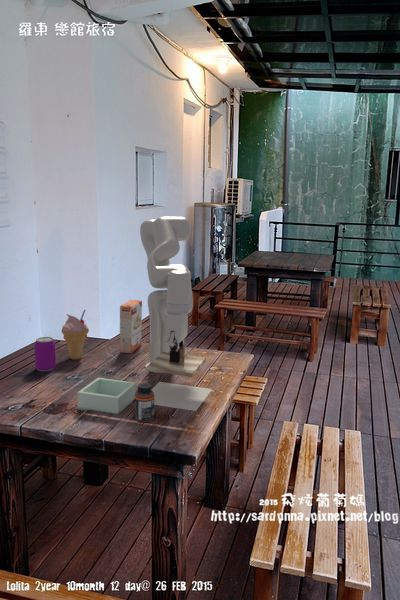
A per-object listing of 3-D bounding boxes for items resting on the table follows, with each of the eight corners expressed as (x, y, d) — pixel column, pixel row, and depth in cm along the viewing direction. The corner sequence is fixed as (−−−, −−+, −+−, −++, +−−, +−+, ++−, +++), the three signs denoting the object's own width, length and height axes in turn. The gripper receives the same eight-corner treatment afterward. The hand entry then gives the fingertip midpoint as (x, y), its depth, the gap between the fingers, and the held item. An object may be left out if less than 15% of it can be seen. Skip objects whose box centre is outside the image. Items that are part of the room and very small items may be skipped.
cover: (163, 355, 188) (163, 338, 187) (205, 360, 184) (206, 344, 183) (145, 370, 173) (146, 352, 172) (192, 377, 169) (192, 358, 168)
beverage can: (52, 372, 201) (51, 342, 198) (32, 371, 201) (31, 341, 198) (58, 365, 208) (57, 336, 206) (39, 365, 208) (38, 336, 206)
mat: (159, 383, 192) (159, 381, 192) (212, 390, 187) (212, 389, 187) (138, 403, 174) (138, 402, 173) (195, 412, 168) (195, 410, 168)
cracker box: (132, 354, 225) (132, 306, 221) (119, 352, 227) (118, 305, 222) (142, 345, 239) (142, 300, 235) (129, 343, 240) (129, 299, 236)
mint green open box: (98, 394, 181) (98, 377, 180) (136, 399, 177) (136, 382, 176) (78, 409, 168) (77, 392, 166) (118, 416, 164) (118, 398, 163)
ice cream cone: (75, 352, 226) (74, 306, 221) (94, 356, 220) (94, 310, 216) (56, 358, 216) (55, 311, 212) (76, 363, 211) (75, 315, 207)
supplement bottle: (135, 415, 165) (135, 381, 162) (154, 415, 165) (154, 381, 163) (134, 424, 159) (134, 388, 156) (154, 423, 159) (154, 388, 157)
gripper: (175, 300, 183) (174, 350, 187) (158, 312, 167) (157, 366, 171) (196, 303, 181) (194, 353, 185) (180, 314, 165) (179, 369, 169)
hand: (176, 359), depth 178 cm, fingers closed on cover, 4 cm apart
